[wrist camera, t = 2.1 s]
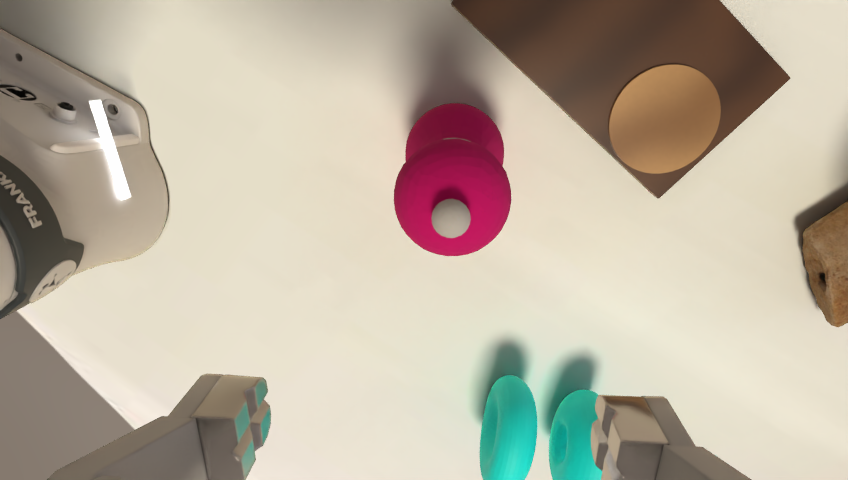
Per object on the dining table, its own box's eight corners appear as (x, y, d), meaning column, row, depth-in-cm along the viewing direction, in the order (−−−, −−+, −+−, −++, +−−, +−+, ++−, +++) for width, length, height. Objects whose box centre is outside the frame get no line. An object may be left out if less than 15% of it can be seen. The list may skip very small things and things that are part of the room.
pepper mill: (506, 103, 38) (550, 153, 20) (491, 191, 41) (518, 308, 22) (415, 92, 38) (374, 130, 20) (406, 181, 41) (362, 287, 23)
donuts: (570, 449, 50) (595, 539, 41) (475, 431, 50) (478, 517, 41) (600, 370, 47) (635, 450, 37) (497, 351, 47) (507, 425, 37)
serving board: (451, 5, 36) (450, 2, 34) (570, -149, 32) (576, -160, 31) (651, 193, 40) (660, 200, 38) (778, 77, 36) (794, 78, 35)
